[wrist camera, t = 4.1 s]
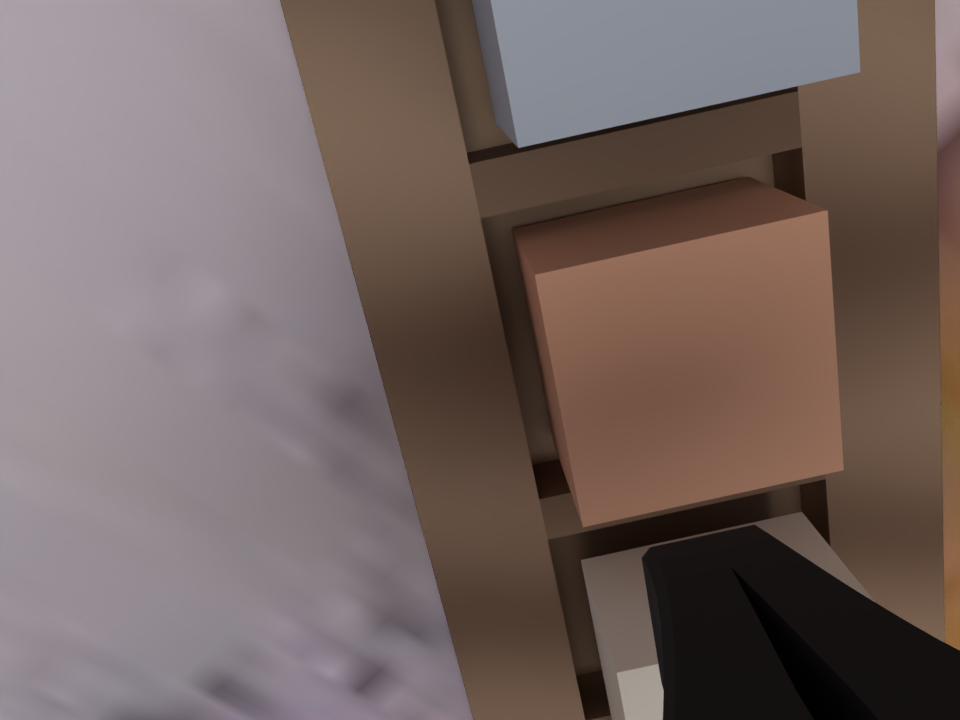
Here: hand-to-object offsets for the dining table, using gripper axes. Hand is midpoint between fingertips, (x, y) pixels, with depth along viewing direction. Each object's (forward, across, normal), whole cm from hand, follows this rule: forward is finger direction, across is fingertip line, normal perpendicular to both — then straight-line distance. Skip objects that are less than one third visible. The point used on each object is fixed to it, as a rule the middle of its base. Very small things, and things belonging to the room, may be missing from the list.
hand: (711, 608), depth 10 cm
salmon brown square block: (+9, -2, 0) cm, 9 cm away
